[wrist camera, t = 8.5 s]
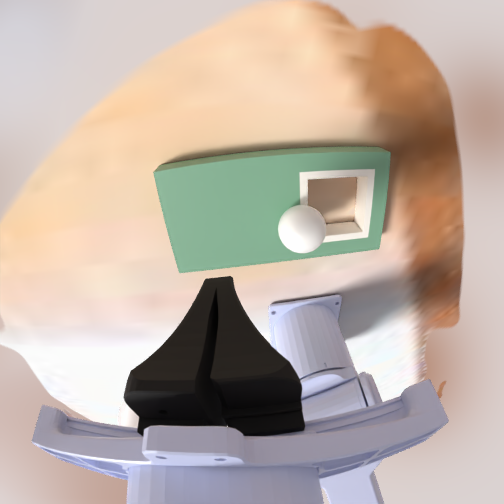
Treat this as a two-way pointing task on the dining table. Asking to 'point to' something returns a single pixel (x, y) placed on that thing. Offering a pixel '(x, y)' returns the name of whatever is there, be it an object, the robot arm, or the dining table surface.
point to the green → (265, 204)
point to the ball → (302, 229)
